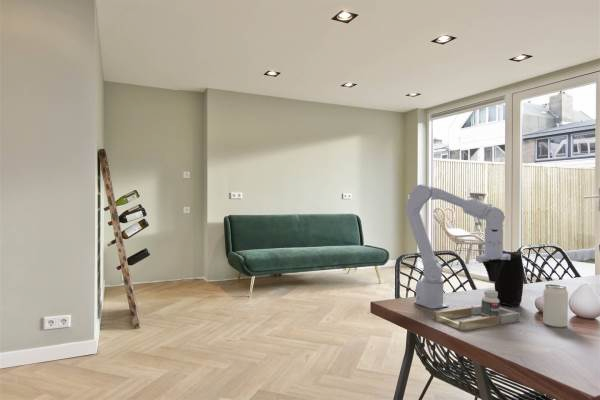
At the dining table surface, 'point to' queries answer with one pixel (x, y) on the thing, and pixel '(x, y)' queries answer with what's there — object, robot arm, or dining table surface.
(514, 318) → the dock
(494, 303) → the pill bottle
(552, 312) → the can
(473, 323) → the beige flat u-shaped piece
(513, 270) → the portable speaker
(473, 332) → the dining table surface
